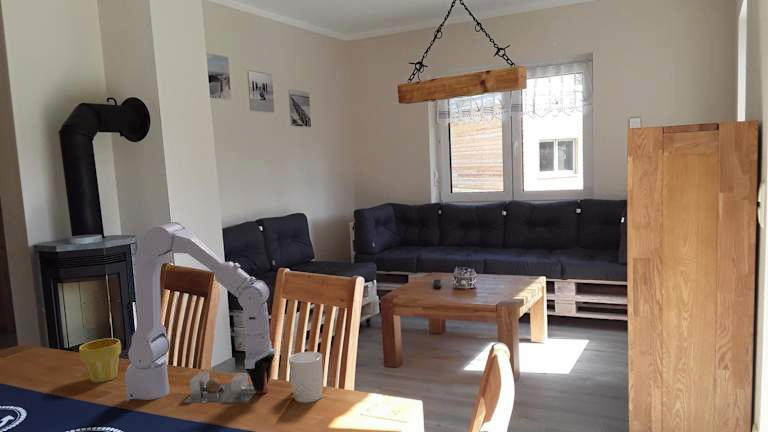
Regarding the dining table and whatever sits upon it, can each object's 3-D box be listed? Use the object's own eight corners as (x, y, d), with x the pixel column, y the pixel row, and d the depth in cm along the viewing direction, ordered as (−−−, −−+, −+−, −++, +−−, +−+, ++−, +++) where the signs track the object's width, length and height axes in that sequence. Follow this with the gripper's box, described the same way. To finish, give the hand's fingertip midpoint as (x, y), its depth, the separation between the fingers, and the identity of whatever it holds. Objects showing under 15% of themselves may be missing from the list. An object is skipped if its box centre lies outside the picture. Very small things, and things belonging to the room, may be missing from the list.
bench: (183, 407, 143) (181, 384, 142) (202, 389, 154) (200, 367, 153) (248, 406, 141) (246, 383, 141) (262, 388, 152) (261, 367, 151)
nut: (204, 396, 146) (202, 381, 146) (209, 390, 150) (208, 376, 149) (218, 395, 146) (217, 381, 145) (223, 390, 149) (222, 376, 149)
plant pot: (73, 383, 163) (69, 348, 162) (104, 370, 173) (101, 336, 172) (102, 387, 159) (98, 351, 158) (132, 373, 169) (128, 339, 168)
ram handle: (232, 395, 145) (230, 375, 144) (239, 387, 149) (237, 368, 149) (264, 395, 144) (262, 375, 143) (270, 387, 148) (268, 367, 148)
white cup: (318, 404, 140) (316, 362, 139) (286, 403, 142) (283, 362, 141) (328, 391, 148) (326, 351, 147) (298, 390, 150) (295, 351, 149)
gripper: (264, 341, 137) (268, 399, 139) (281, 323, 151) (285, 375, 153) (234, 342, 138) (238, 399, 139) (254, 324, 152) (258, 376, 154)
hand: (261, 387), depth 146 cm, fingers closed on ram handle, 3 cm apart
